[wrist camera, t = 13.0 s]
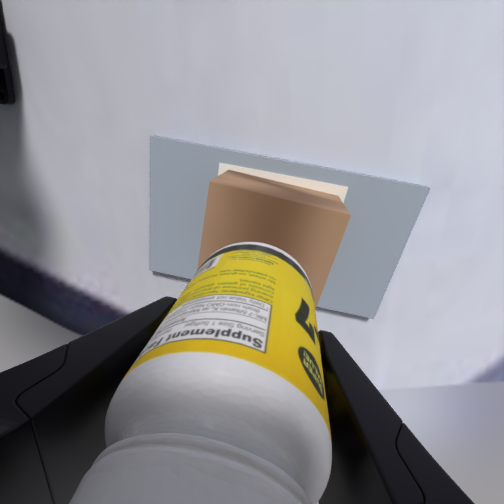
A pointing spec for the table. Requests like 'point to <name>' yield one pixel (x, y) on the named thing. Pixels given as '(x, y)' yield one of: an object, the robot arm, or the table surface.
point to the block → (275, 221)
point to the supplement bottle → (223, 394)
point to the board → (299, 174)
